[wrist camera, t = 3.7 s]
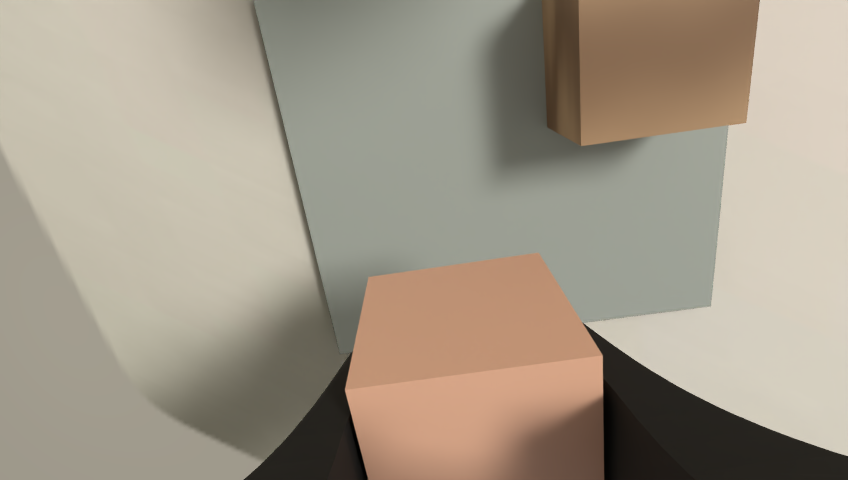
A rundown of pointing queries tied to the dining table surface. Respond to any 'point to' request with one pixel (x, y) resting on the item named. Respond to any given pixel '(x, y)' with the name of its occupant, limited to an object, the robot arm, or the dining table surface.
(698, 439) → the robot arm
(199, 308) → the dining table surface
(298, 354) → the dining table surface
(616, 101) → the walnut block
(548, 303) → the terracotta cube
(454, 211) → the slate board
